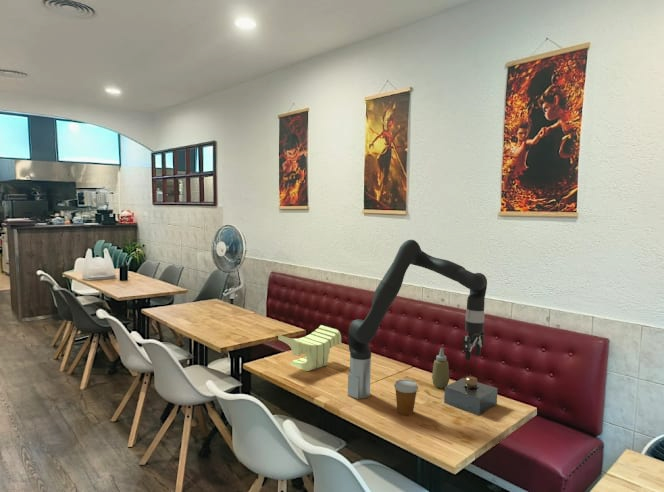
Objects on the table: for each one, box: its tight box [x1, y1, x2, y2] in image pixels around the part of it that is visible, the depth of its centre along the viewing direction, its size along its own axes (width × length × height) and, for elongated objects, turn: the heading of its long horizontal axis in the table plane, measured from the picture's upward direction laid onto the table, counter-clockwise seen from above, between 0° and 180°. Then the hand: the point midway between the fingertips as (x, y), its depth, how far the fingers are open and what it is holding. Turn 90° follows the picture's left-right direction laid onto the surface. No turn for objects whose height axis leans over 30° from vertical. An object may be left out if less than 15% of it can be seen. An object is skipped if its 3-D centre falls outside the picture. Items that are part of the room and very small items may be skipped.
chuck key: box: [465, 375, 478, 391], centre depth 186 cm, size 5×5×11 cm
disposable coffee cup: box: [393, 378, 419, 416], centre depth 176 cm, size 10×10×12 cm
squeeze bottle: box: [431, 348, 450, 389], centre depth 204 cm, size 8×8×18 cm
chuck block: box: [443, 377, 499, 416], centre depth 186 cm, size 16×16×7 cm
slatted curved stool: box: [277, 324, 342, 372], centre depth 228 cm, size 30×16×18 cm, turn 135°
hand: (472, 357), depth 185 cm, fingers open, 8 cm apart
